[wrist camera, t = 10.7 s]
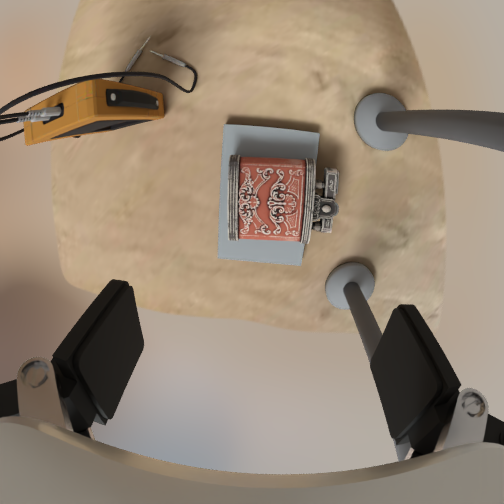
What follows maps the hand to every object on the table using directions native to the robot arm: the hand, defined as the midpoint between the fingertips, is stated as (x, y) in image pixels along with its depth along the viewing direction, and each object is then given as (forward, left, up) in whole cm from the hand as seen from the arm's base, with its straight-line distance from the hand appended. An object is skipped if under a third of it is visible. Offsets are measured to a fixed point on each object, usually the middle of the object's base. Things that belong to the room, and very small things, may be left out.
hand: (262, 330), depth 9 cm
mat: (0, 0, -20) cm, 20 cm away
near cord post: (-9, +11, -20) cm, 25 cm away
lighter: (0, -4, -18) cm, 18 cm away
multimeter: (-12, -15, -21) cm, 28 cm away
